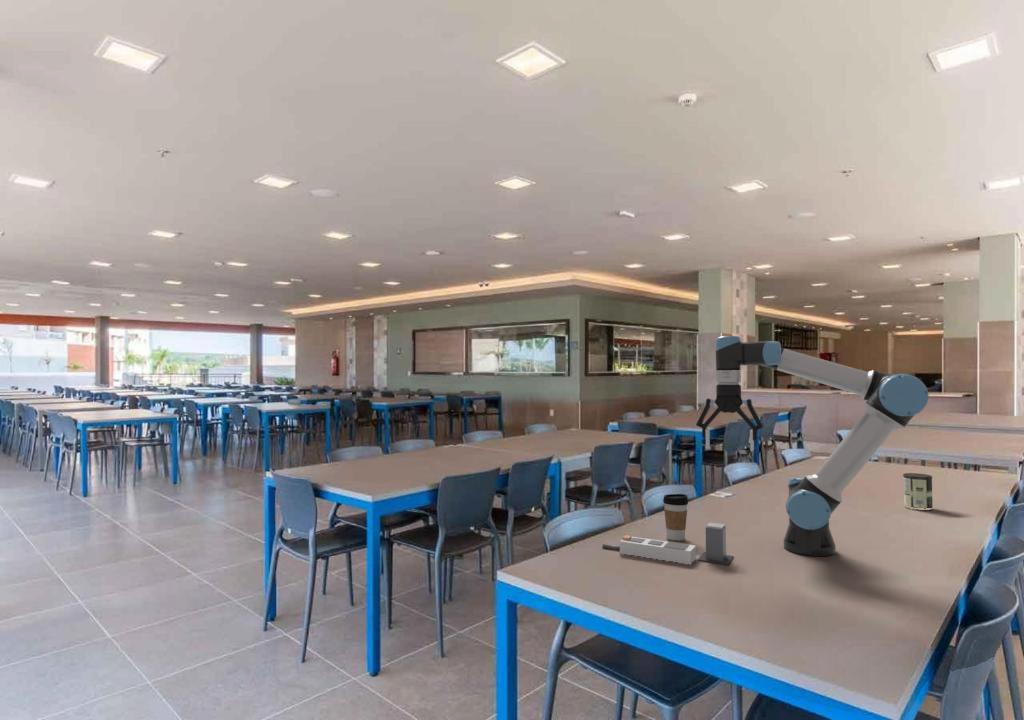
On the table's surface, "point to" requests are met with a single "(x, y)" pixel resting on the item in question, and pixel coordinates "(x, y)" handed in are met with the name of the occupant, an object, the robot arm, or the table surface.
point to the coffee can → (917, 490)
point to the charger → (716, 541)
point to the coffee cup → (675, 515)
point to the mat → (725, 562)
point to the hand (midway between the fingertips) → (729, 449)
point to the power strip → (656, 549)
